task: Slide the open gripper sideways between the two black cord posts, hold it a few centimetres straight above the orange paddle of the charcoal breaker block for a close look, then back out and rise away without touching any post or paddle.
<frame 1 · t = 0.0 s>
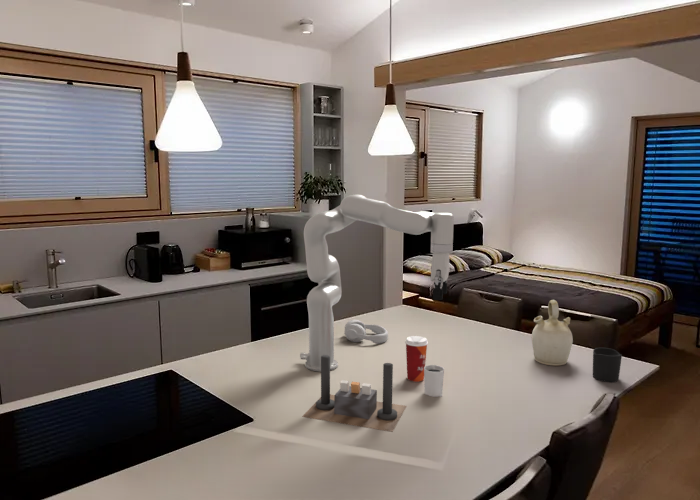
hand: (440, 296, 187), 31 cm above the counter, fingers open, 9 cm apart
cord post left: (325, 406, 167), point 1 cm above the counter, touching breaker panel
paddle left: (344, 385, 163), point 9 cm above the counter, hinge at 12.0°
white cup: (433, 397, 178), on the counter
jug: (550, 361, 214), on the counter
coffee cup: (415, 379, 194), on the counter
paddle middle: (355, 387, 162), point 9 cm above the counter, hinge at 12.0°
cord post right: (387, 416, 161), point 1 cm above the counter, touching breaker panel
breaker panel: (355, 415, 164), on the counter
pen holder: (605, 378, 196), on the counter
headphones: (366, 339, 241), on the counter
paddle right: (366, 389, 161), point 9 cm above the counter, hinge at 12.0°
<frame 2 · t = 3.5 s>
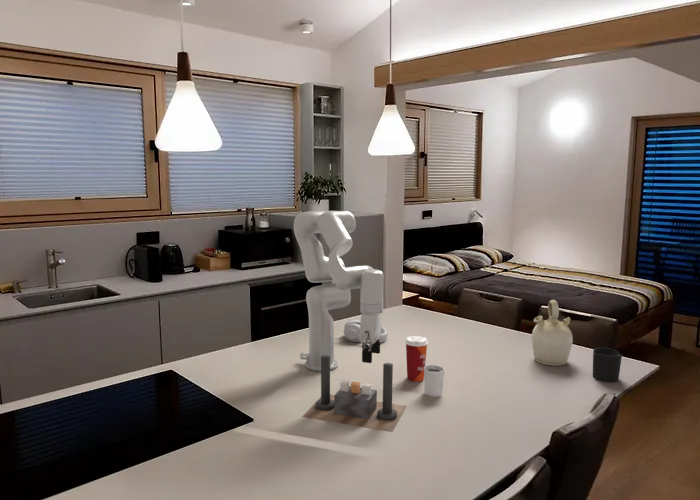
hand: (371, 357, 177), 13 cm above the counter, fingers open, 9 cm apart
nothing on the counter moved.
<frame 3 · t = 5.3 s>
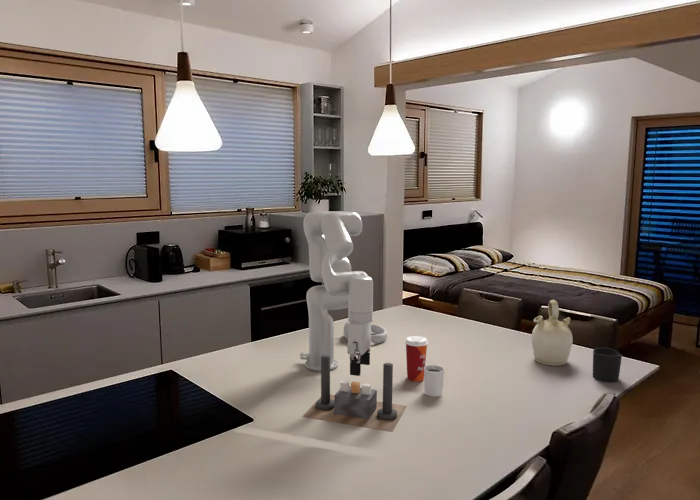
hand: (360, 369, 166), 13 cm above the counter, fingers open, 9 cm apart
nothing on the counter moved.
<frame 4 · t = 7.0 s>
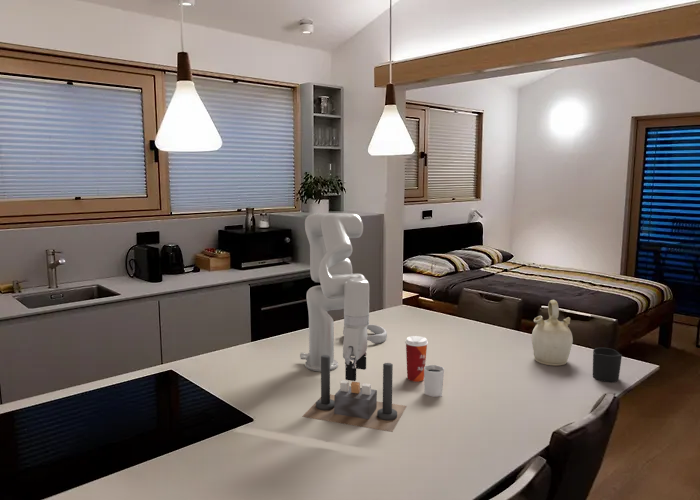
hand: (356, 374, 162), 13 cm above the counter, fingers open, 9 cm apart
nothing on the counter moved.
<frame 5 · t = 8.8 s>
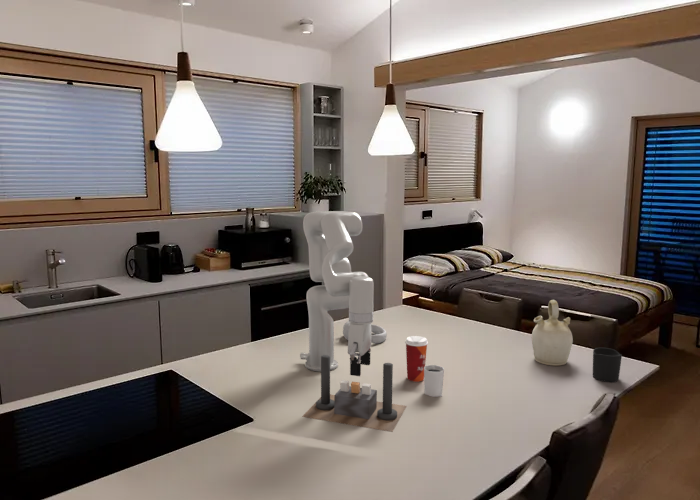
hand: (360, 369, 166), 13 cm above the counter, fingers open, 9 cm apart
nothing on the counter moved.
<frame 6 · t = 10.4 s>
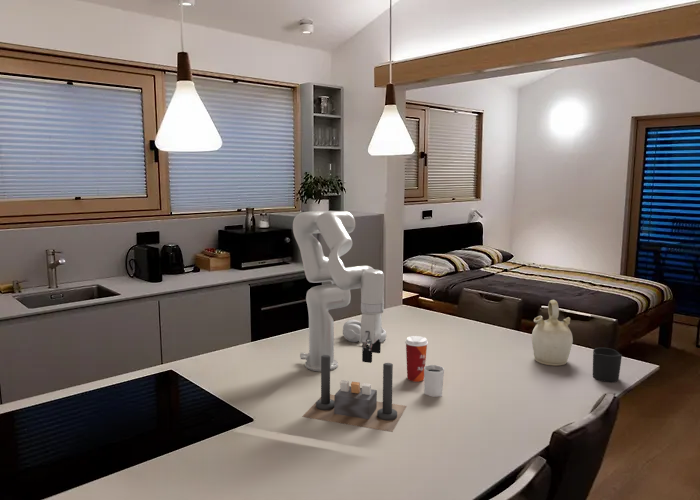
hand: (371, 357, 178), 13 cm above the counter, fingers open, 9 cm apart
nothing on the counter moved.
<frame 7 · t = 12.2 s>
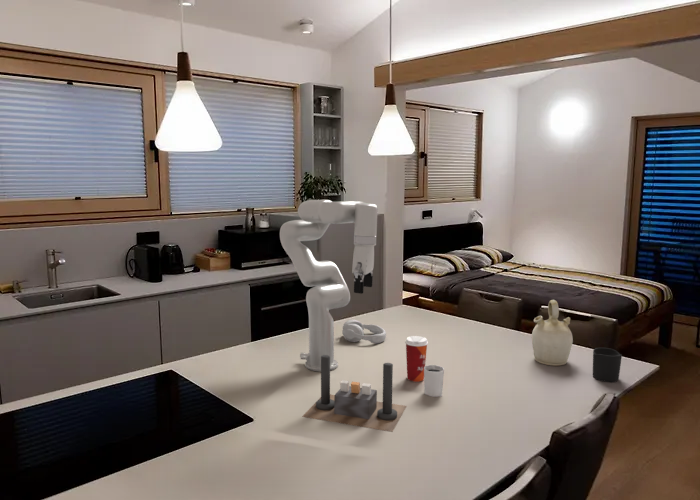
hand: (363, 289, 182), 35 cm above the counter, fingers open, 9 cm apart
nothing on the counter moved.
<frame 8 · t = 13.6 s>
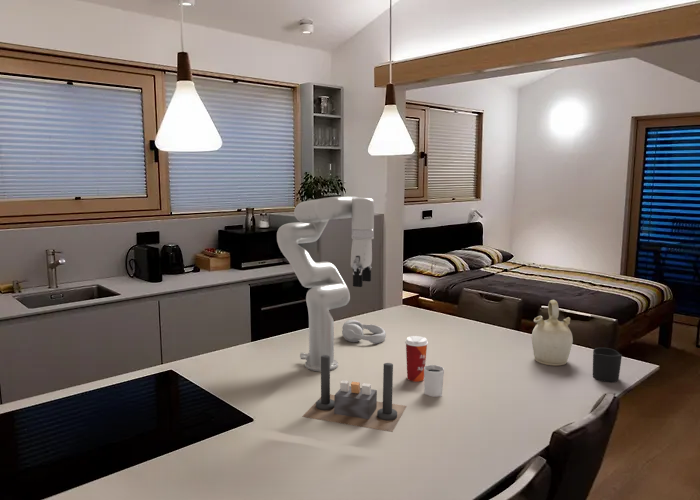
hand: (362, 283, 183), 36 cm above the counter, fingers open, 9 cm apart
at the end: cord post left moved 0.0 cm from its start; cord post right moved 0.0 cm from its start; paddle middle at +12° (first picture: +12°) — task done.
